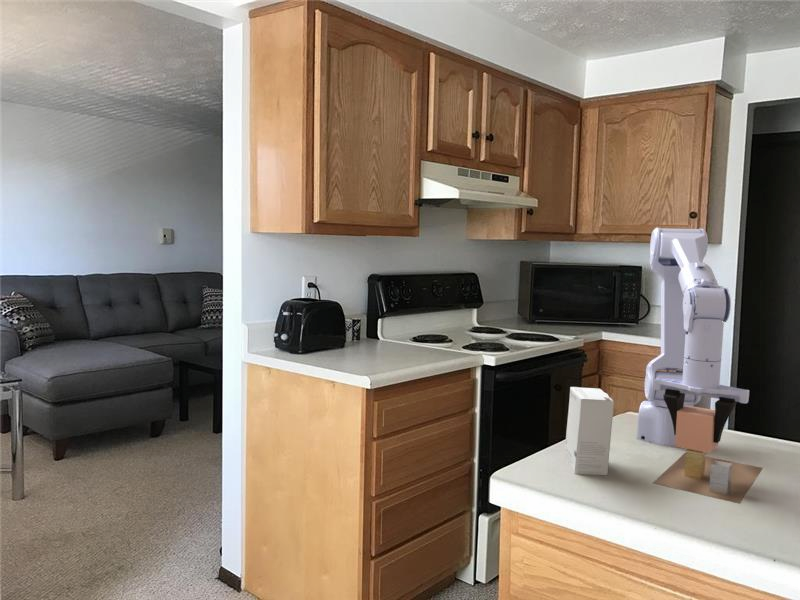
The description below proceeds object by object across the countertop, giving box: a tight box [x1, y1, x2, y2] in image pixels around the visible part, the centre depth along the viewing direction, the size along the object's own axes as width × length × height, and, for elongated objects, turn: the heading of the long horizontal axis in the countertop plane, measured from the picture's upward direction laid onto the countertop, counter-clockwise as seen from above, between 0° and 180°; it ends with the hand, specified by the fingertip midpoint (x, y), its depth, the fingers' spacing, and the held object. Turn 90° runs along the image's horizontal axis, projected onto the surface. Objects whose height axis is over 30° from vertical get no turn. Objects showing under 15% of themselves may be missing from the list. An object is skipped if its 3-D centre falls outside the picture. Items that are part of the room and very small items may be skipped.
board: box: [652, 451, 763, 504], centre depth 115 cm, size 13×21×2 cm, turn 143°
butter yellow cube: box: [684, 448, 707, 479], centre depth 114 cm, size 3×3×4 cm
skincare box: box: [563, 386, 615, 476], centre depth 117 cm, size 8×6×15 cm
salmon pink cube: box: [675, 406, 719, 454], centre depth 113 cm, size 6×6×6 cm
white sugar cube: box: [709, 460, 732, 495], centre depth 107 cm, size 3×3×4 cm
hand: (696, 437), depth 113 cm, fingers closed on salmon pink cube, 6 cm apart
